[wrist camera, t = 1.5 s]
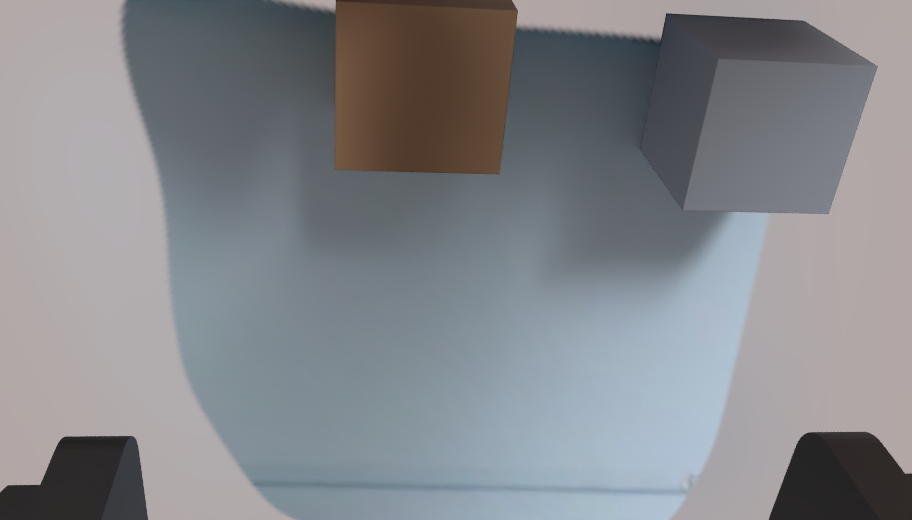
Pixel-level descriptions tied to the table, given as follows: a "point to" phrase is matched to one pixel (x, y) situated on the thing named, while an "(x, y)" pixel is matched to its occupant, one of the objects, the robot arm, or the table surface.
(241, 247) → the table surface
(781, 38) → the slate block
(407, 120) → the walnut block
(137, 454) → the robot arm
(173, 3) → the table surface
